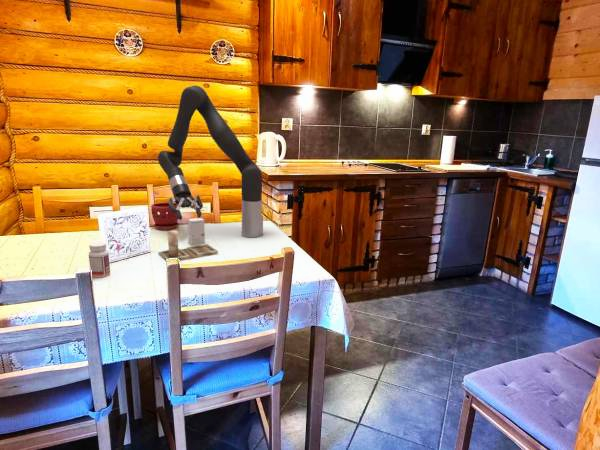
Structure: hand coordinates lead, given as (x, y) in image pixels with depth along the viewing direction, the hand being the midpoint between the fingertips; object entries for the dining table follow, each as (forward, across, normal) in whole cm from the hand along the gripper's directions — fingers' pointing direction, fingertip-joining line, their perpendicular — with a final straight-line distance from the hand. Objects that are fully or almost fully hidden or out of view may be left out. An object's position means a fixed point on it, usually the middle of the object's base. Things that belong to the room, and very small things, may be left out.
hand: (190, 217), depth 178 cm
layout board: (+20, -8, -4) cm, 22 cm away
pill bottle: (+22, -41, -5) cm, 47 cm away
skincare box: (+12, 0, +4) cm, 13 cm away
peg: (+19, -14, -4) cm, 24 cm away
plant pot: (-12, -1, +29) cm, 31 cm away
